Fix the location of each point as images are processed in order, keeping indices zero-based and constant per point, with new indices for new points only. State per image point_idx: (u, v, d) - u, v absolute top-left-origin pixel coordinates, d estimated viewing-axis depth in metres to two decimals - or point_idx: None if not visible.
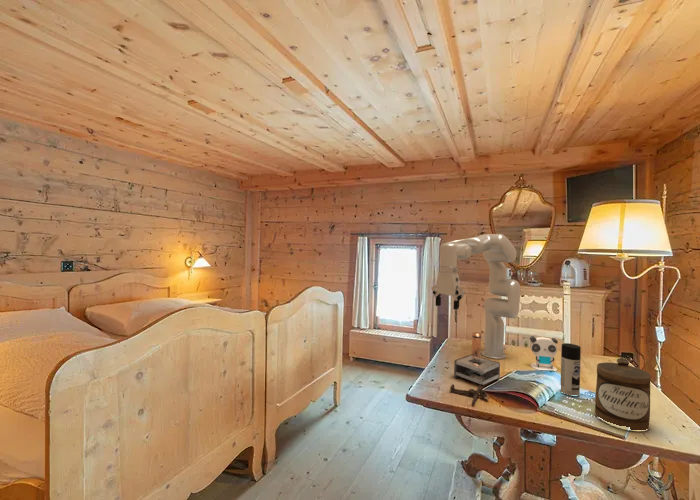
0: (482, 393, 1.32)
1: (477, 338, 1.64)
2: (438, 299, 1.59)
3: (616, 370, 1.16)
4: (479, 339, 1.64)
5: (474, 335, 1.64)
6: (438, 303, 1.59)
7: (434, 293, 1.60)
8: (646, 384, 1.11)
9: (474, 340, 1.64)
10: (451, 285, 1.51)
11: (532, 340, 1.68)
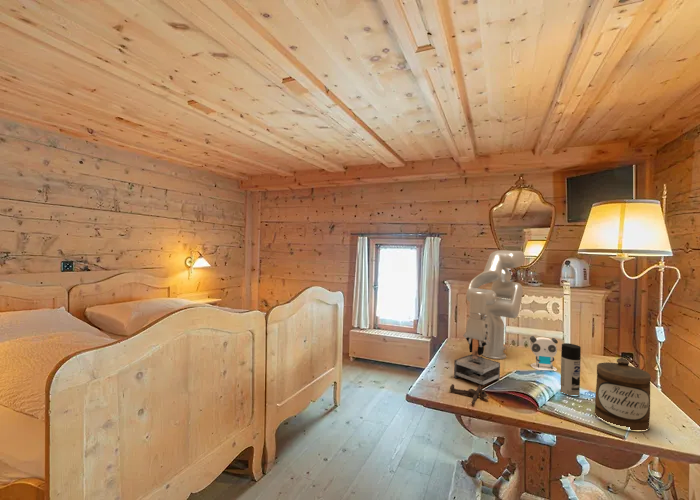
0: (482, 393, 1.32)
1: None
2: None
3: (616, 370, 1.16)
4: None
5: None
6: None
7: (468, 340, 1.68)
8: (646, 384, 1.11)
9: (474, 340, 1.64)
10: (481, 331, 1.61)
11: (532, 340, 1.68)
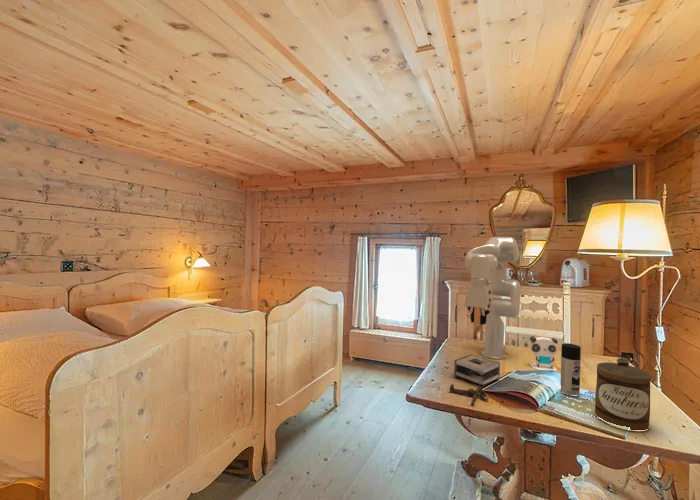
0: (481, 393, 1.32)
1: None
2: None
3: (616, 370, 1.16)
4: None
5: None
6: None
7: (469, 309, 1.53)
8: (646, 384, 1.11)
9: (476, 308, 1.49)
10: (484, 298, 1.47)
11: (532, 340, 1.68)
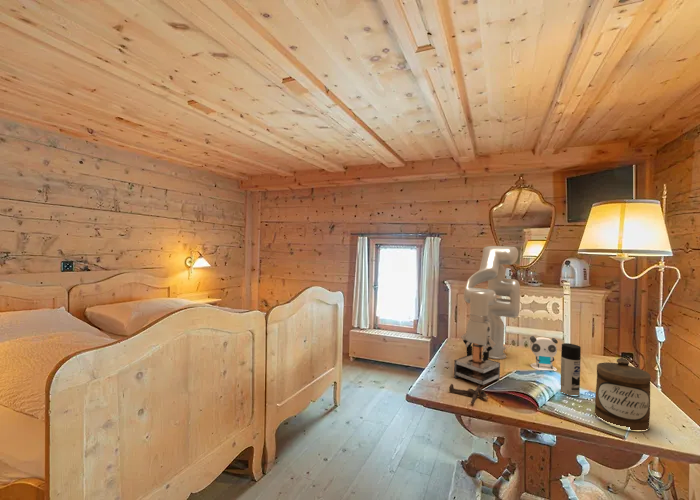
0: (481, 393, 1.32)
1: (478, 347, 1.49)
2: (469, 349, 1.54)
3: (616, 370, 1.16)
4: (480, 348, 1.49)
5: (475, 344, 1.50)
6: (469, 353, 1.54)
7: (465, 342, 1.55)
8: (646, 384, 1.11)
9: (475, 349, 1.50)
10: (482, 335, 1.47)
11: (532, 340, 1.68)
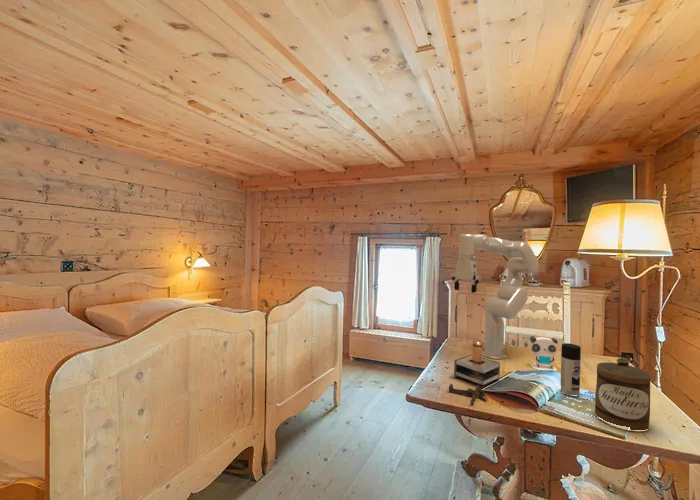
0: (480, 393, 1.32)
1: (478, 347, 1.49)
2: (457, 284, 1.77)
3: (616, 370, 1.16)
4: (480, 348, 1.50)
5: (475, 344, 1.50)
6: (457, 288, 1.77)
7: (453, 279, 1.78)
8: (646, 384, 1.11)
9: (475, 349, 1.50)
10: (469, 271, 1.70)
11: (532, 340, 1.68)
